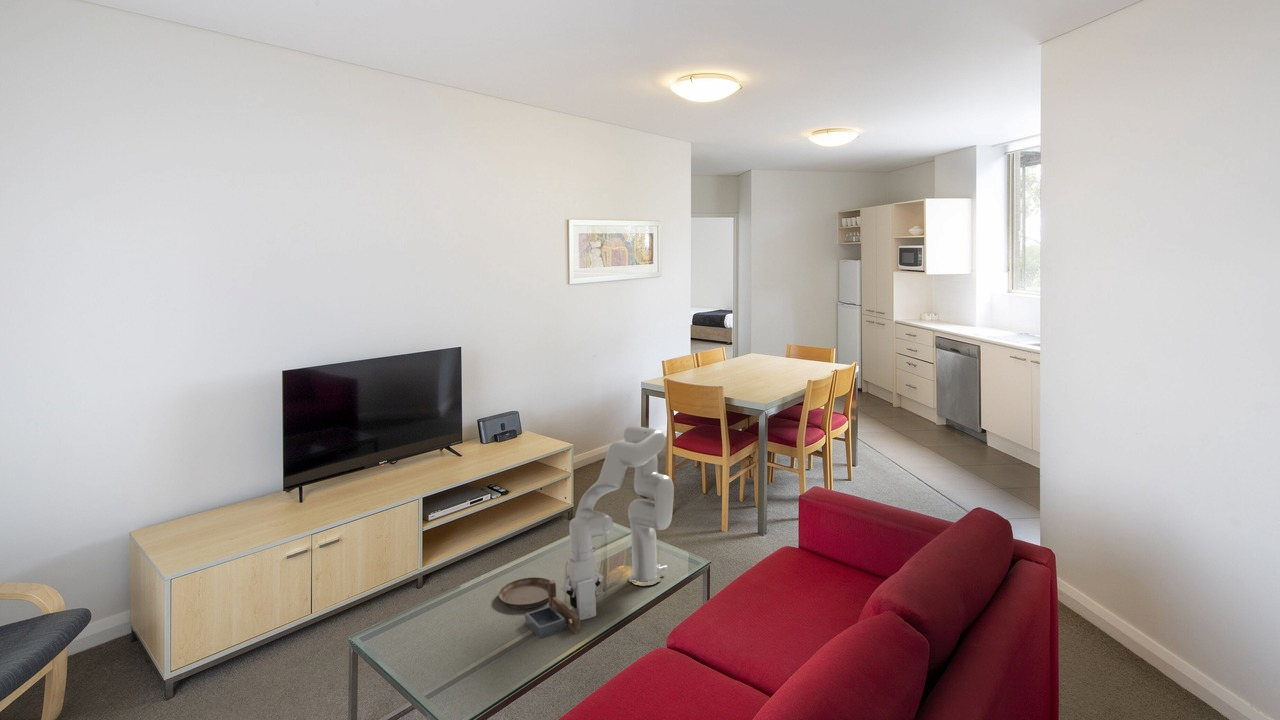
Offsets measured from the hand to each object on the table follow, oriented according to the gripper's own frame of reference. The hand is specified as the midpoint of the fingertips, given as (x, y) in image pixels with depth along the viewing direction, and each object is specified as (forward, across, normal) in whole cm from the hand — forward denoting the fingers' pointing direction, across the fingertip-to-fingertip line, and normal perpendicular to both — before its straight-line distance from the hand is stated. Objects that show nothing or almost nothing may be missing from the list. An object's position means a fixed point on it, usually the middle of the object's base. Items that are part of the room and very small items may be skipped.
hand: (583, 603), depth 220 cm
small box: (+4, 0, 0) cm, 4 cm away
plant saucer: (+4, +11, -23) cm, 26 cm away
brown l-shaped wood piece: (+4, +8, 0) cm, 8 cm away
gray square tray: (+4, +14, 0) cm, 15 cm away
